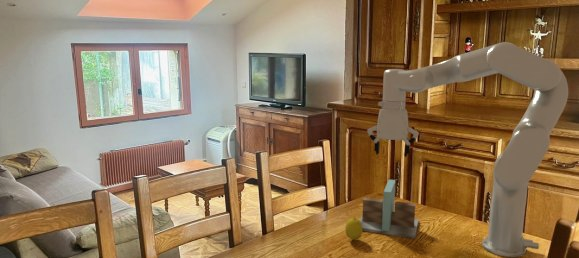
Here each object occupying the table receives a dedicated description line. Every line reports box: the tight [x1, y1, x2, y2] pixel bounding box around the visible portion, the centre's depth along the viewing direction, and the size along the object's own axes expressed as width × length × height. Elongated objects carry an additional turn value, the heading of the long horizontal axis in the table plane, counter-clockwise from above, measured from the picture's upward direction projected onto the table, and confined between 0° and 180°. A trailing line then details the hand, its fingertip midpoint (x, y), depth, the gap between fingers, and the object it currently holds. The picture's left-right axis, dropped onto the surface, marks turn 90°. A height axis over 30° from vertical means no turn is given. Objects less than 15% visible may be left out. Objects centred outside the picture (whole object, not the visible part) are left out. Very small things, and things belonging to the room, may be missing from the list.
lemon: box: [345, 217, 363, 241], centre depth 142 cm, size 6×6×8 cm
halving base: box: [358, 197, 419, 239], centre depth 154 cm, size 20×15×9 cm
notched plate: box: [382, 179, 396, 231], centre depth 153 cm, size 14×2×14 cm, turn 160°
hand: (391, 154), depth 150 cm, fingers open, 9 cm apart
